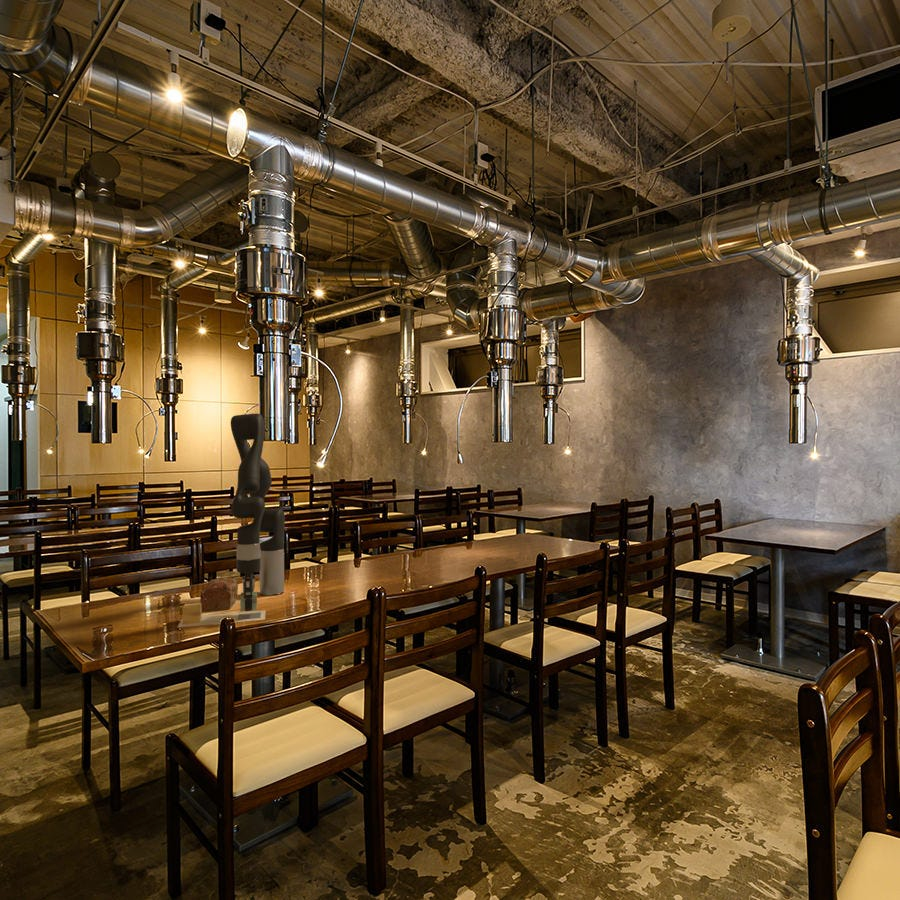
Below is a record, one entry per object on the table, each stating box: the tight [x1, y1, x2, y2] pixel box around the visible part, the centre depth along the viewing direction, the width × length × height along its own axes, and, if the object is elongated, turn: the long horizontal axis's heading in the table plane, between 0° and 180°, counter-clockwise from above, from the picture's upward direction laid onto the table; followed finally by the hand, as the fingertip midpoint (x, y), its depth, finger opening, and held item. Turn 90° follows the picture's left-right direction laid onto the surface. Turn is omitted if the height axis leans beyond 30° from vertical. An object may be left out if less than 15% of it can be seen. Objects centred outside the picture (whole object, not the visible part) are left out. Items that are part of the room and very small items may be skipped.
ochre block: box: [181, 602, 202, 624], centre depth 186 cm, size 5×5×5 cm
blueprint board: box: [177, 610, 266, 628], centre depth 189 cm, size 12×26×1 cm, turn 107°
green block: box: [239, 590, 258, 612], centre depth 191 cm, size 5×5×5 cm
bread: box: [199, 577, 239, 613], centre depth 208 cm, size 19×11×10 cm, turn 12°
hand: (248, 608), depth 191 cm, fingers closed on green block, 5 cm apart
